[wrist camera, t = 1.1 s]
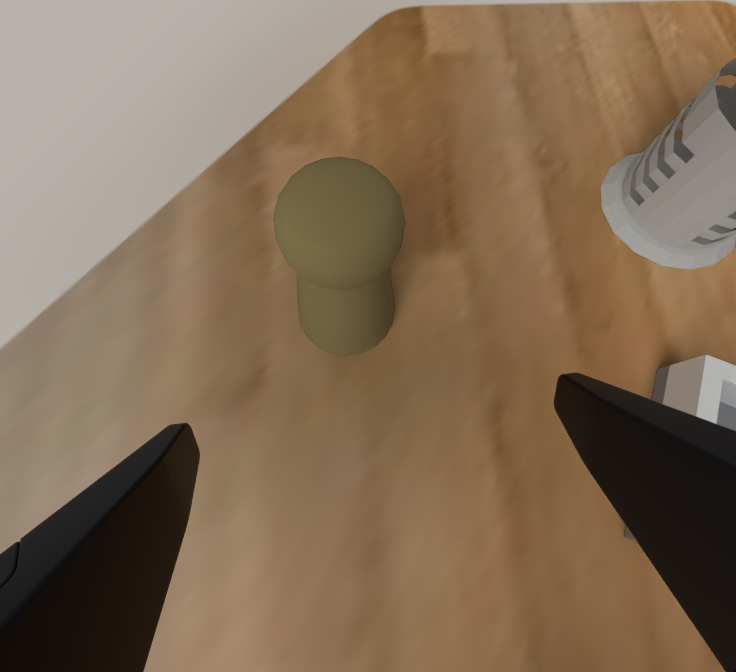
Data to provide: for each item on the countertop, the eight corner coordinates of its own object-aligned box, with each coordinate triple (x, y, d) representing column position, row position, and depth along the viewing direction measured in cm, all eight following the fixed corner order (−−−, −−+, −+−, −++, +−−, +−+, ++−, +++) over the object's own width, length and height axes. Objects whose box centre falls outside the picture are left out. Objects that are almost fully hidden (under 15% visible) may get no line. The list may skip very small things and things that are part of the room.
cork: (356, 374, 23) (355, 306, 13) (278, 318, 24) (217, 211, 14) (413, 299, 25) (453, 183, 14) (337, 249, 26) (323, 105, 15)
